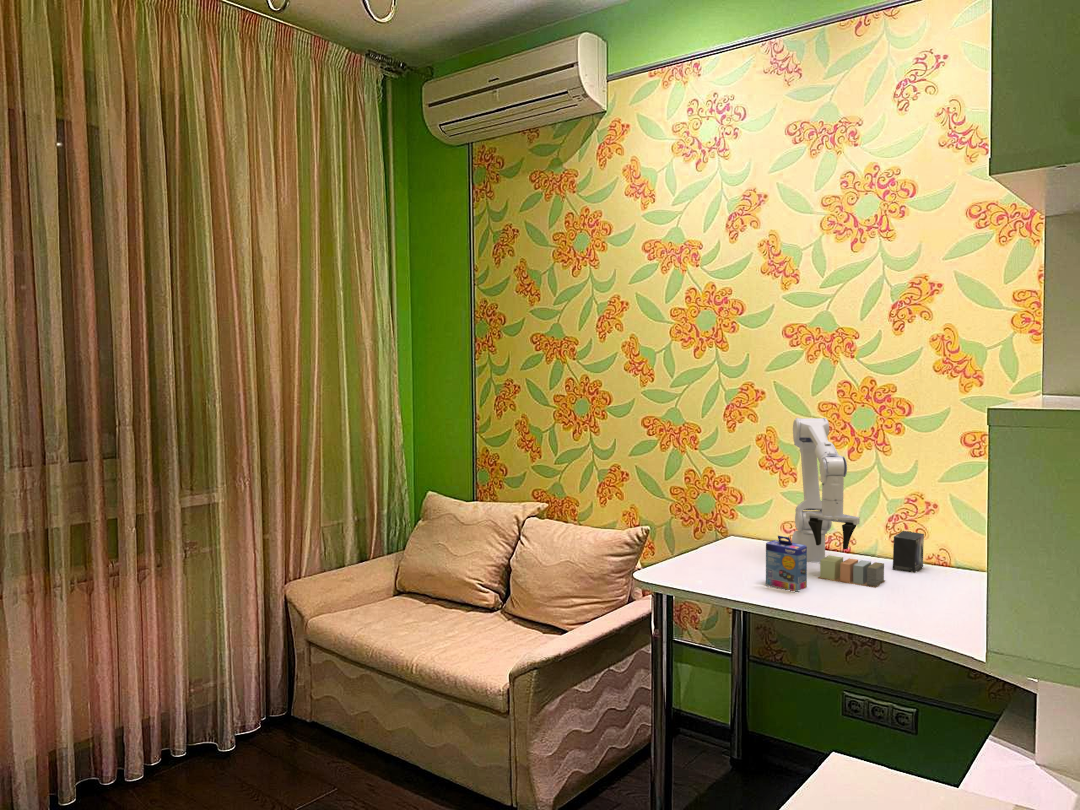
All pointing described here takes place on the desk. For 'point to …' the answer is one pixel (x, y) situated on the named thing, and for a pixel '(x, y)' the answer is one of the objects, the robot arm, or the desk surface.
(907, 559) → the small box
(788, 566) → the ink cartridge box
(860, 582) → the grey-blue block
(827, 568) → the sage book
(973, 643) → the desk surface
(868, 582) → the steel bookend
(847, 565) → the terracotta book
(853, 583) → the walnut board
